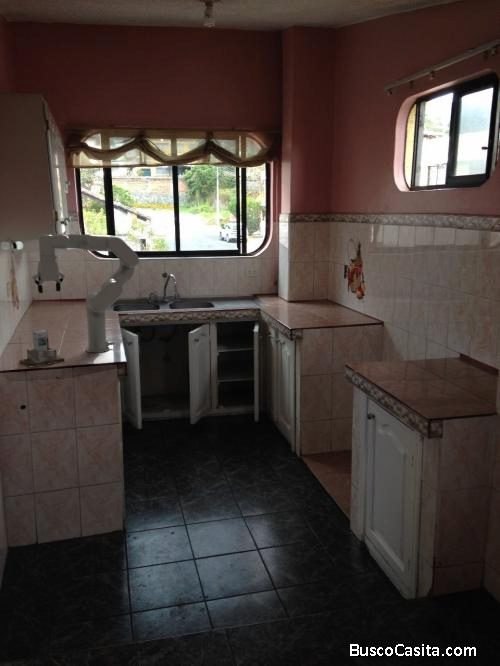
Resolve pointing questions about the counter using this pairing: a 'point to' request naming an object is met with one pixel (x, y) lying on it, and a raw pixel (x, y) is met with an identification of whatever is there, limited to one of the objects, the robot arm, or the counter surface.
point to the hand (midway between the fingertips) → (49, 292)
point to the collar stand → (41, 357)
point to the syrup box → (40, 340)
